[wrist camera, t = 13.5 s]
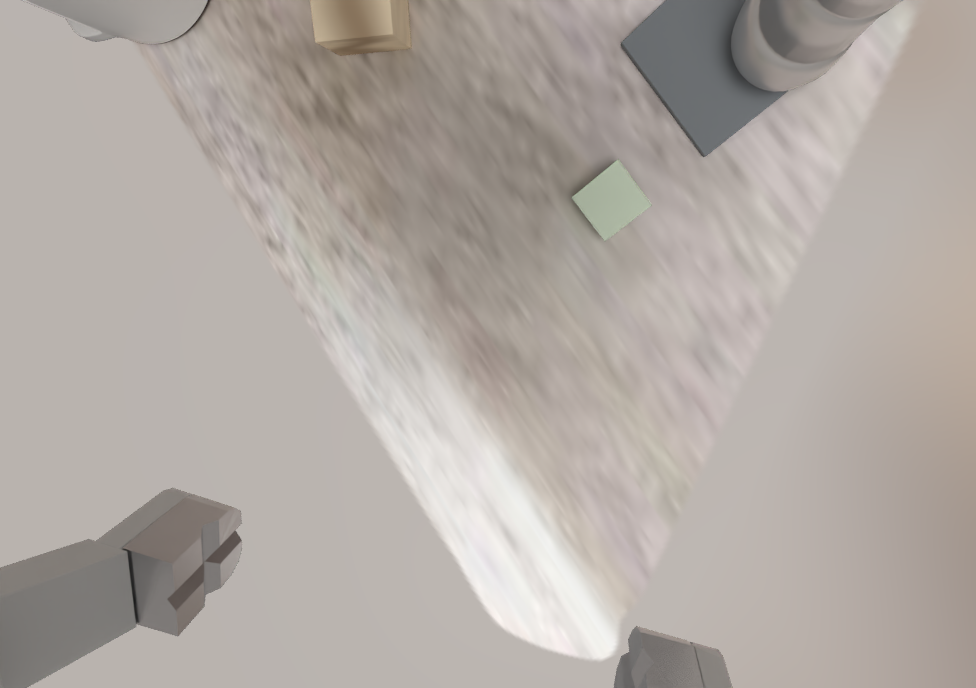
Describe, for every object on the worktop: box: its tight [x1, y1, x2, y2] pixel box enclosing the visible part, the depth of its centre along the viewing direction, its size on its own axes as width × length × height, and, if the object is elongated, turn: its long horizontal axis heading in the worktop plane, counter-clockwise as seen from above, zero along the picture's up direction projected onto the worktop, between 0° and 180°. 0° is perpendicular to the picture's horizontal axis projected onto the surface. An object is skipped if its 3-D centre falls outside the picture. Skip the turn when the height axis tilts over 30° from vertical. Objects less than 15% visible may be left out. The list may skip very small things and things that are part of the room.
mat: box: [621, 0, 789, 157], centre depth 33 cm, size 10×10×1 cm
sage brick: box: [572, 159, 652, 241], centre depth 36 cm, size 4×4×4 cm
